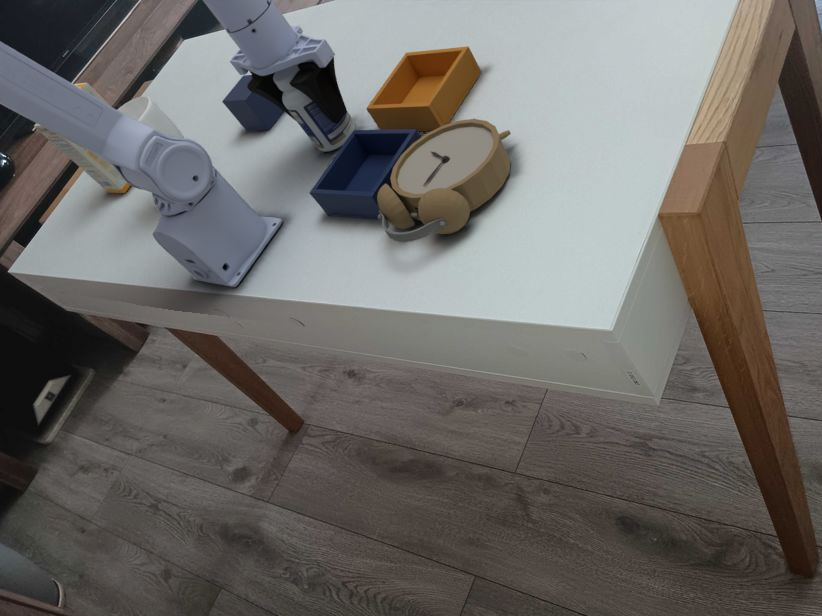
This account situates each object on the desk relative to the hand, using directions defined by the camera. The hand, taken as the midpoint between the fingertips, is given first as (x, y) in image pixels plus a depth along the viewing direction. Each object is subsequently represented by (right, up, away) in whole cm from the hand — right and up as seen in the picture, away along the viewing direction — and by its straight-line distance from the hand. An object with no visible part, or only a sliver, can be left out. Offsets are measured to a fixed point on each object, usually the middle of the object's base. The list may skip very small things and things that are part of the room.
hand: (323, 117), depth 86 cm
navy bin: (+7, -9, -7) cm, 14 cm away
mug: (-19, -6, +12) cm, 23 cm away
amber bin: (+13, +1, -2) cm, 13 cm away
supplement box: (-32, -1, +23) cm, 40 cm away
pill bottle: (+1, -2, +2) cm, 3 cm away
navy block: (-10, +4, +14) cm, 18 cm away
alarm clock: (+15, -12, -14) cm, 24 cm away
